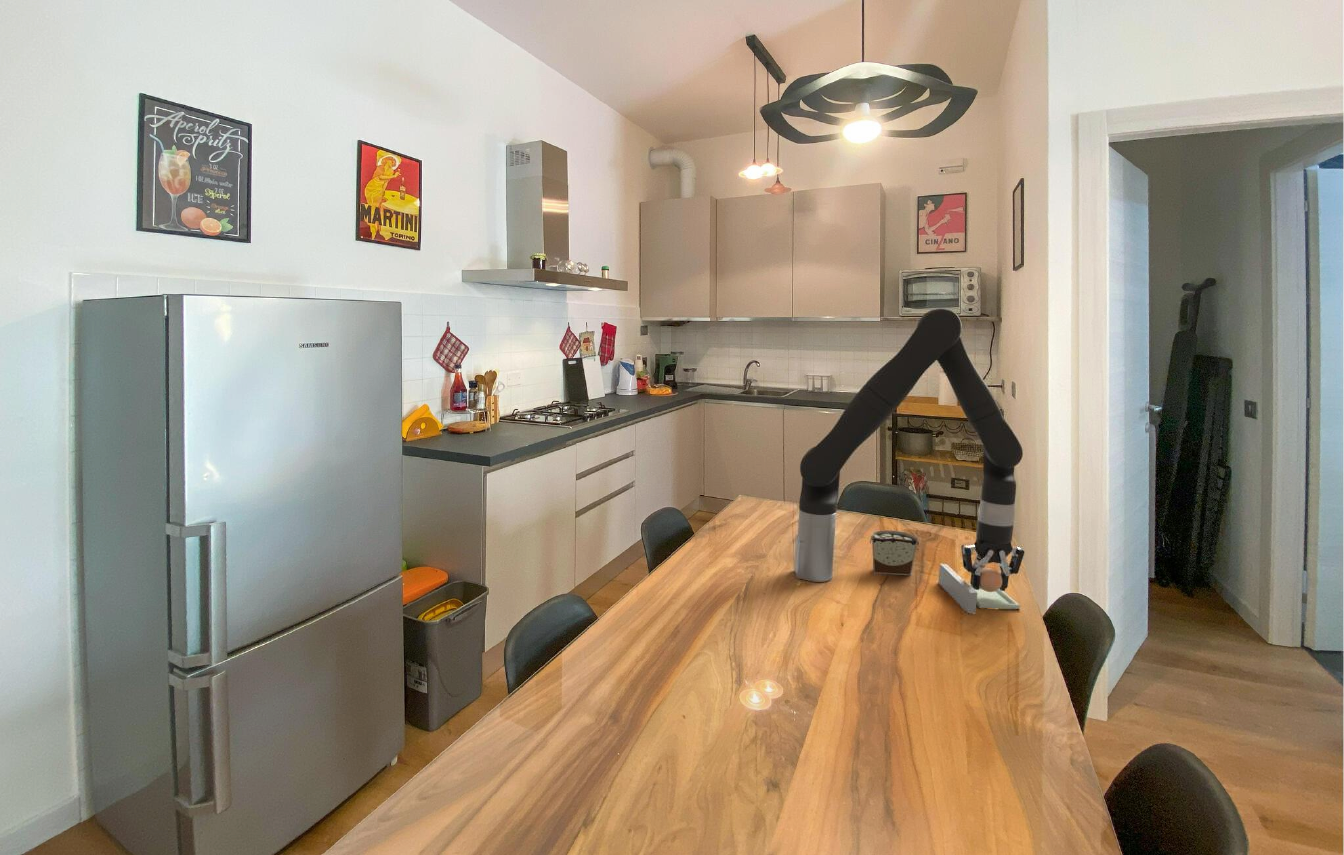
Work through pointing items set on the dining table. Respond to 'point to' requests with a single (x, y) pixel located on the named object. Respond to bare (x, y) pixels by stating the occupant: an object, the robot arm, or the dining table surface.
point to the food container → (893, 552)
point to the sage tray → (995, 600)
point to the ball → (990, 580)
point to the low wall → (957, 588)
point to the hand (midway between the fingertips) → (988, 588)
